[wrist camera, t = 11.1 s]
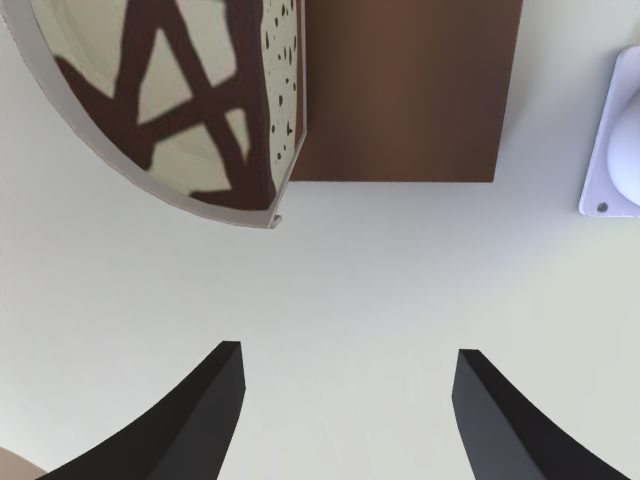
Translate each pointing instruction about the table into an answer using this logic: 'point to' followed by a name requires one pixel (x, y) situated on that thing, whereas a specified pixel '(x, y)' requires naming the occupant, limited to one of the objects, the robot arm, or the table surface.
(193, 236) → the table surface
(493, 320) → the table surface
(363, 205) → the table surface
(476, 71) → the walnut board
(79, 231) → the table surface
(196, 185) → the food container
